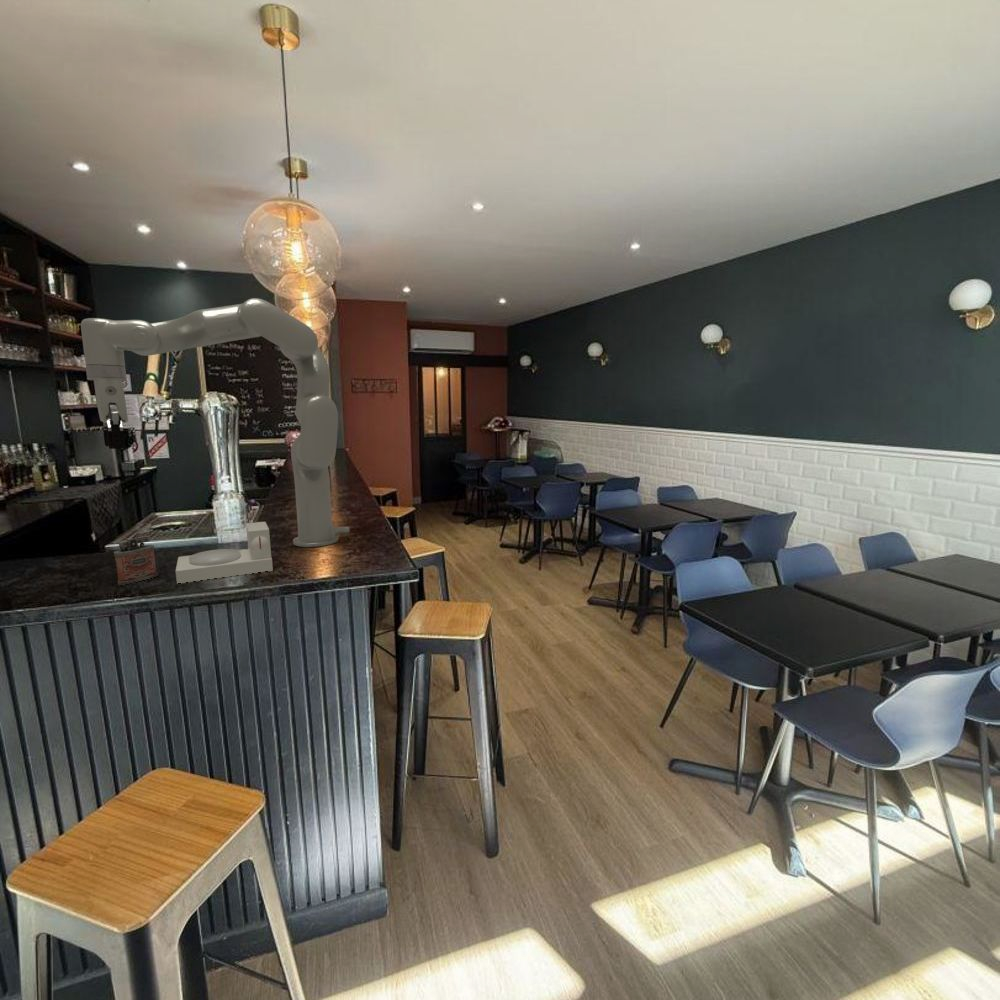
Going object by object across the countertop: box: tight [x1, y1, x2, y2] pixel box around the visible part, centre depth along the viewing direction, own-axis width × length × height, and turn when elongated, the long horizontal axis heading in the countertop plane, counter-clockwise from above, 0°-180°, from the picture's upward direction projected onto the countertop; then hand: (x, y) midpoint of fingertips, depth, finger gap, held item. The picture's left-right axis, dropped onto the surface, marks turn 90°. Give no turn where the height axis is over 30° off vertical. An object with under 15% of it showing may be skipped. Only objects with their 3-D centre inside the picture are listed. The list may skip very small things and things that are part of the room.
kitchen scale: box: [175, 521, 274, 585], centre depth 130 cm, size 20×13×10 cm, turn 118°
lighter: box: [113, 535, 159, 586], centre depth 122 cm, size 8×3×10 cm, turn 148°
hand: (115, 447), depth 128 cm, fingers open, 9 cm apart
